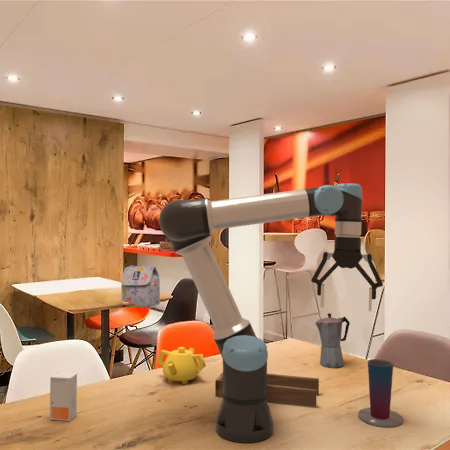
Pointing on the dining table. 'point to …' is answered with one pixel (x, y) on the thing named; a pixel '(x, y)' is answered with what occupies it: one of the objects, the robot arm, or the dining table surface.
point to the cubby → (285, 389)
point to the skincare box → (63, 396)
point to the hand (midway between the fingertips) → (345, 308)
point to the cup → (380, 387)
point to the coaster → (392, 421)
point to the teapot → (181, 364)
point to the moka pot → (331, 340)
